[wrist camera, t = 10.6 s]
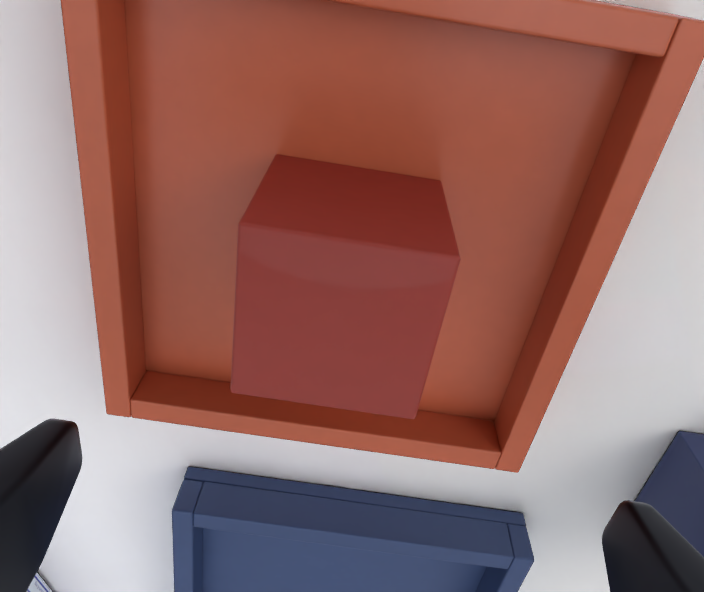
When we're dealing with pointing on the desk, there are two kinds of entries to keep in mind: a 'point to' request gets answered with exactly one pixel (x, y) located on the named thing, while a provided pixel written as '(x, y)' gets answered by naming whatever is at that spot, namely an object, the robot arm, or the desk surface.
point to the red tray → (377, 154)
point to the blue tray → (337, 540)
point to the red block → (341, 286)
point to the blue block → (680, 487)
